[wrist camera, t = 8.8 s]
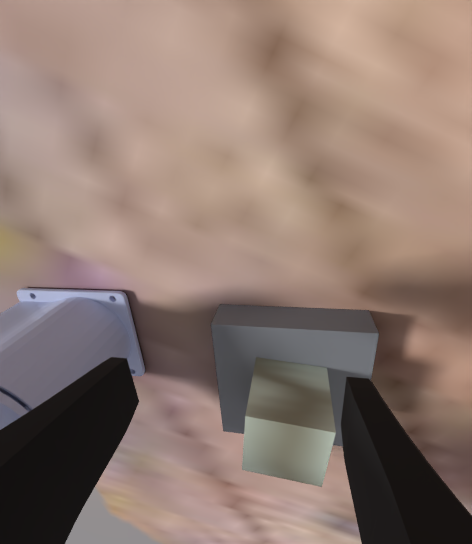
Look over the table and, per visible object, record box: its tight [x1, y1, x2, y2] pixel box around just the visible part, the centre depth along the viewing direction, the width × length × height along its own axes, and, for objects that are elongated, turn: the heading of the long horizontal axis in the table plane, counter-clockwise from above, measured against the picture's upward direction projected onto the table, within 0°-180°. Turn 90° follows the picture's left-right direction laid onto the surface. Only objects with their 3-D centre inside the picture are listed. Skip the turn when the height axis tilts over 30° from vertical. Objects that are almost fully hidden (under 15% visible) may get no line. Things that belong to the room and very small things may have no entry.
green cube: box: [242, 357, 336, 487], centre depth 17 cm, size 4×4×4 cm
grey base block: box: [211, 304, 379, 446], centre depth 21 cm, size 10×10×3 cm
